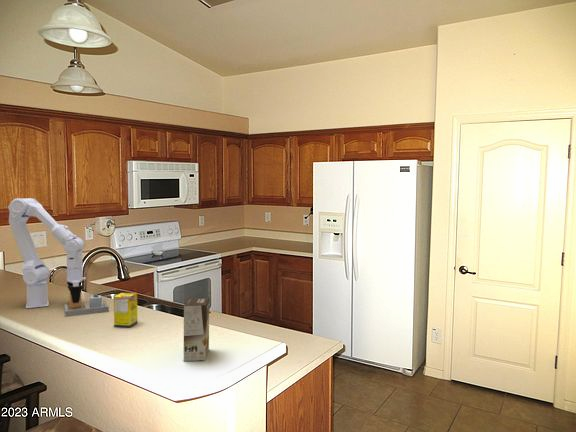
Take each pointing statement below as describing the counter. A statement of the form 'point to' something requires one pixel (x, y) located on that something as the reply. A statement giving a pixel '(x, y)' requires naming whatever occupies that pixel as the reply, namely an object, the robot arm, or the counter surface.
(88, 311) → the e-shaped shelf rack
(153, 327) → the counter surface
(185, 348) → the coffee box
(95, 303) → the seated plug
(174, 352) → the counter surface
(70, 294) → the orange plug
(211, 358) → the counter surface
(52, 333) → the counter surface
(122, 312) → the supplement box
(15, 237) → the robot arm
